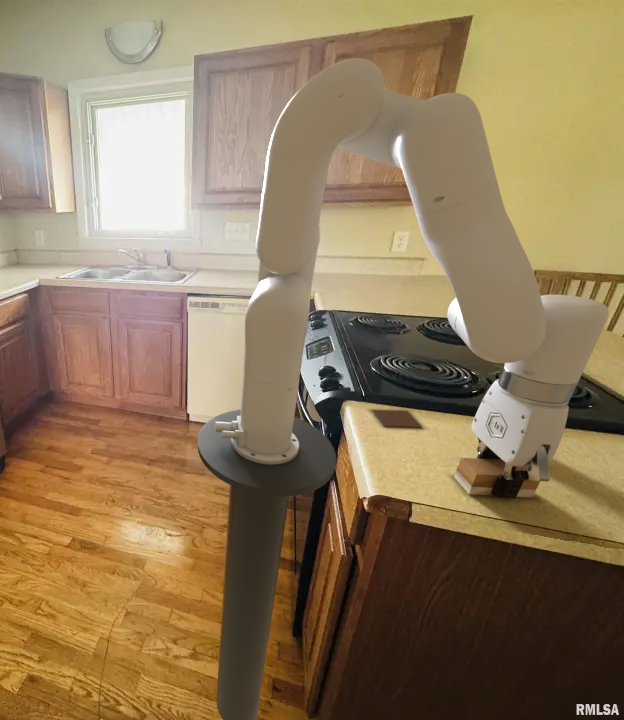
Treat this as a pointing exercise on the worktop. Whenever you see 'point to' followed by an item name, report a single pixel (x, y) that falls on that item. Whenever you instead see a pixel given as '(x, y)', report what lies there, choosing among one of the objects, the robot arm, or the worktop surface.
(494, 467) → the scrub brush
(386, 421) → the brown square tile
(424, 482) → the worktop surface
